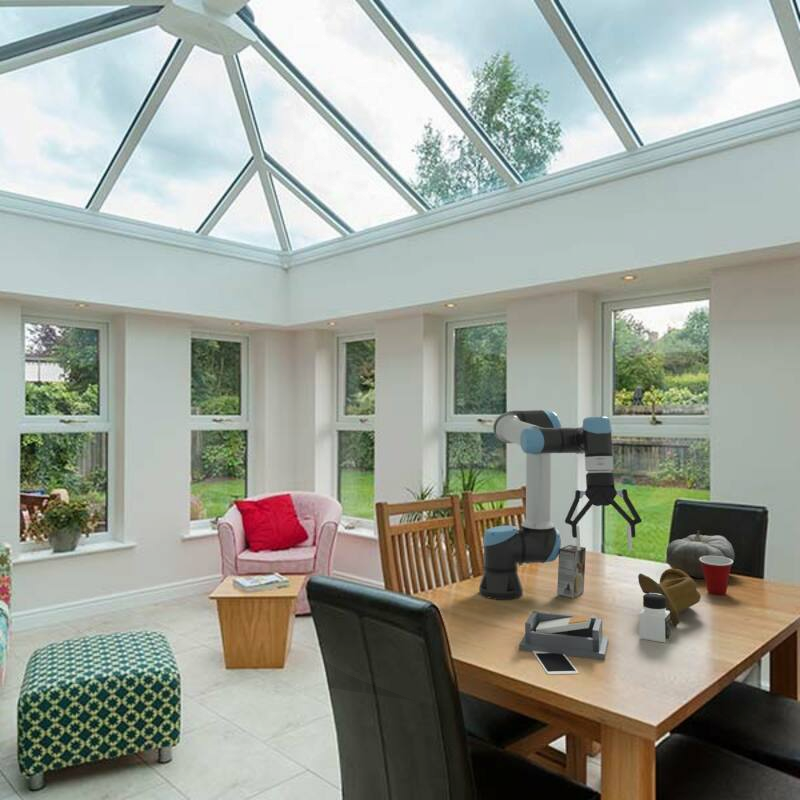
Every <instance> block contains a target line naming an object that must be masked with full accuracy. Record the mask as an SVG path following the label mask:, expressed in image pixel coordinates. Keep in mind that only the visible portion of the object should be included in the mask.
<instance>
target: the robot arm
mask: <svg viewBox="0 0 800 800" xmlns="http://www.w3.org/2000/svg"><path fill="white" fill-rule="evenodd" d="M492 427H493V428H492V429H493V430H492V431H493V434H494V436H495V438H496V439H497V440H499V441H500V442H503V443H505V444H516V445H518V446H520V448H521V450H522V452H523V453H524V454H526V455H525V462H526V463H525V464H526V467H525V470H526V471H525V519H524V521H522V523H521V526H520V527H521V529H518V528H517V526H516V525H498V526H494V527H490V528H488V529H486V530H485V531H484V533H483V542H482V545H483V573H482V577H481V580H480V584H479V586H478V587H479V588H478V589H479V591H478V592H479V593H480V594H481V596H482V595H483V596H482V597H484V596H485V598H487V597H490V598H489V599H493V598H496V600H513V598H514V599H517V598H520V596H521V597H522V596H523V592H524V590H523V585H522V581H521V580H520V577H519V572H518V564H530V563H531V564H534V563H537V564H540V563H541V564H545V563H551V562H554V561H556V559H557V558H559V549H561V548H562V547H561V545H562V543H561V542H562V541H561V533H560V532H559V530H558V529H556V528H555V524H554V523H553V521H551V498H552V497H551V496H552V495H551V494H552V493H551V490H552V489H551V488H552V487H551V486H552V484H551V483H552V478H551V477H552V476H551V475H552V474H551V472H552V471H551V470H552V454H578V455H579V454H582V455H583V454H584V465H585V467H584V468H585V472H587V473H586V474H585V482H586V490H585V491H584V490H579V489H575V492H574V493H575V494H574V499H573V501H572V503H571V506H570V509H569V510H568V512H567V514H566V517H565V519H564V522H565V524H567V525H570V526H571V533H572V534H571V535H572V538H573V539H574V538H576V546H577V550H581V548H580V547H581V534H580V533H581V532H580V526H579V525H578V524H579V522H580V521H581V519H582V518H583V517H584V516H585V515H586V513H587V512H588V511H589V509H590V508H591V507H592V506H595V507H600V506H604V507H609V506H610V505H611V506H612V507H613V508H614V509H615V510H616V511H617V512H618V514H620V516H622V518H623V519H625V521H626V522H627V523H628V524H626V535H627V549H628V550H629V551H633V541H632V540H633V539H632V538H636V525H638V524H640V523H642V520H643V519H642V518H641V516H640V515H639V514H638V513H639V512H637V511H638V510H636V508H635V506H634V505H633V503H632V501H631V499H630V498H629V494H628V490H627V489H626V488H623V489H616V487H615V486H616V485H615V473H614V472H612V471H614V459H613V458H614V457H613V442H612V441H613V437H612V427H611V419H610V418H609V417H608V416H590V417H589V416H588V417H584V418H583V419H582V426H581V427H562V424H561V420H560V418H559V416H558V415H557V413H556V412H554V411H552V410H544V409H538V410H537V409H536V410H534V409H533V410H531V409H529V410H510V411H506V412H504V413H502V414H500V415H499V416H498V417H496V419H495V421H494V423H493V425H492ZM617 495H618V496H619V497H620V498H622V499H623V502H624V504H625V505H626V507H627V508H628V511H630V513H631V516H632V517H633V518H634V519H633V518H631V516H630V515H629V514H627V512H625V510H624V509H623V508H622V507H621V506H620V505H619V504H618V502H617V501H616V500H615V498H616V497H617ZM584 496H585V497H586V498H587V499H588V501H587V502H586V504H585V505H584V506H583V507H582V508H581V510H580V511H579V513H578V514H577V515H576V516H575V518H574V519H573V520H572V518H573V516H574V514H575V511H576V509H577V507H578V505H579V502H580V499H583V497H584ZM480 594H479V595H480Z"/></svg>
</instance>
